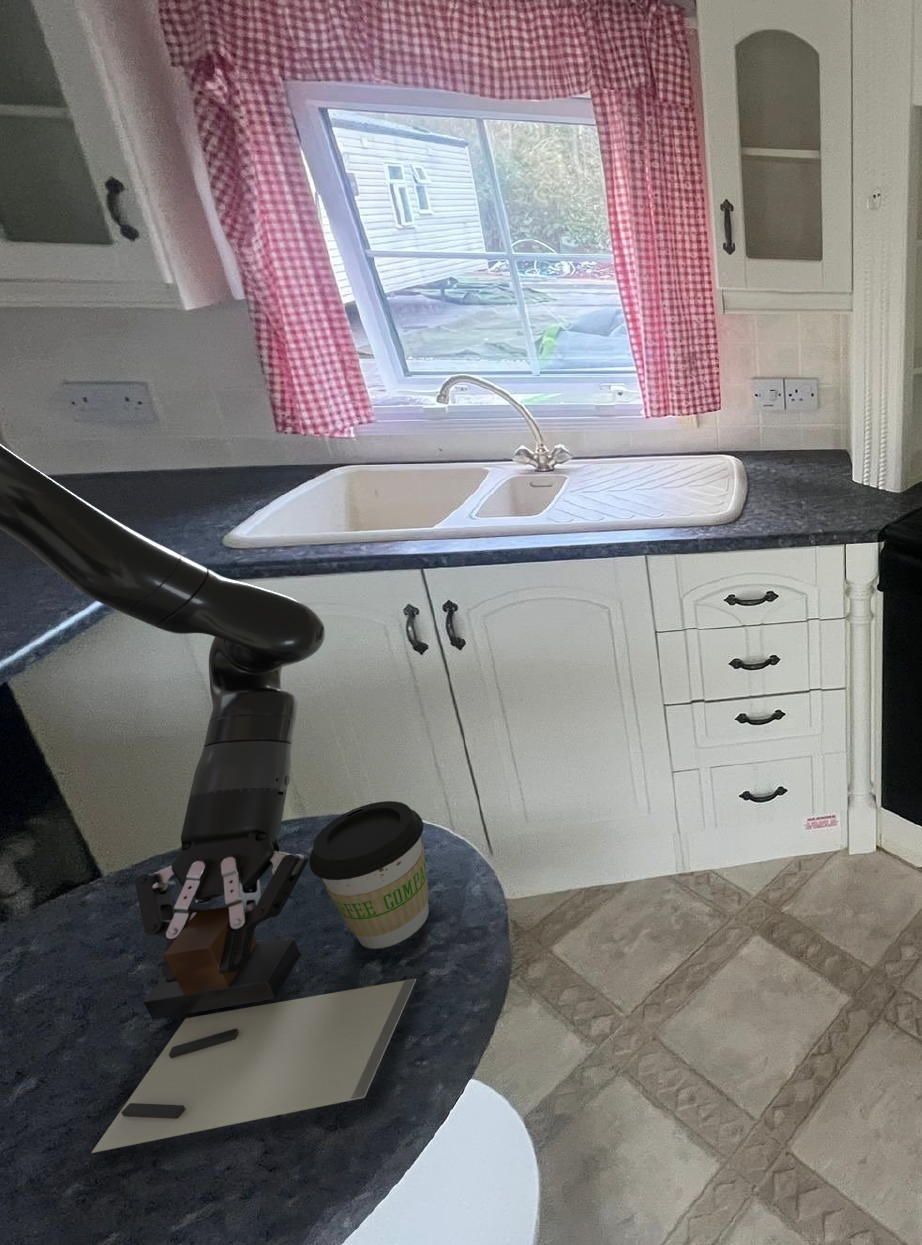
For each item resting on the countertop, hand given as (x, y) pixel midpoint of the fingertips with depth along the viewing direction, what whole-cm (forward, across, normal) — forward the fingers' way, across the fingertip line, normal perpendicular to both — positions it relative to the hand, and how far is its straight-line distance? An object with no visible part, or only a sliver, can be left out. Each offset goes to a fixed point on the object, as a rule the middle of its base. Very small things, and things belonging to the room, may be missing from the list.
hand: (204, 975), depth 74 cm
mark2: (+10, 0, -3) cm, 11 cm away
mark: (+6, 0, +1) cm, 6 cm away
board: (+9, +7, 0) cm, 11 cm away
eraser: (+1, 0, +4) cm, 5 cm away
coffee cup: (-1, +12, +11) cm, 16 cm away
